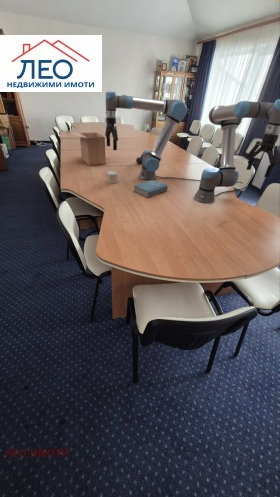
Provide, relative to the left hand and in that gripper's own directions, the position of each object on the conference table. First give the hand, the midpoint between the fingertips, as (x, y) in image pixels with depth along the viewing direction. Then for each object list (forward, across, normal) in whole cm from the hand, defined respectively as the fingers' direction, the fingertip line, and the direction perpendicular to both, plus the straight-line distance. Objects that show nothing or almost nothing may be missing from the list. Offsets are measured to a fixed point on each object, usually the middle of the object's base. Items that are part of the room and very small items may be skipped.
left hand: (111, 148), depth 175 cm
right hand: (-3, +92, +56) cm, 108 cm away
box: (+27, -63, +5) cm, 69 cm away
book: (+27, +31, +21) cm, 46 cm away
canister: (+27, 0, 0) cm, 27 cm away
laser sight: (+27, -37, +55) cm, 72 cm away
